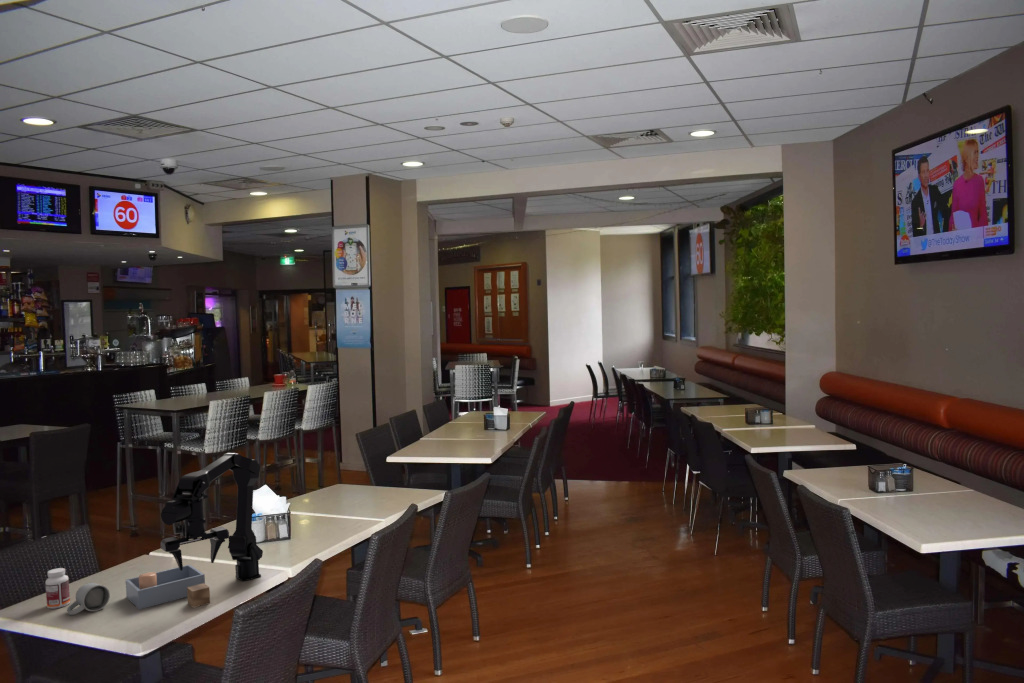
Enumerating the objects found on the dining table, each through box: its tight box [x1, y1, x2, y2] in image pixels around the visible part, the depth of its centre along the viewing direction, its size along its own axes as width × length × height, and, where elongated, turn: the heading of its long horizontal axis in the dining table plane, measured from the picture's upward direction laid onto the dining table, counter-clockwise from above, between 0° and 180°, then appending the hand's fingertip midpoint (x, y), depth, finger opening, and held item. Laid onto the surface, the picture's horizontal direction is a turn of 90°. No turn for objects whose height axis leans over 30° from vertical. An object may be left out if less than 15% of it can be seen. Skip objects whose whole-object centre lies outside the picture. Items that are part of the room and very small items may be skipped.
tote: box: [125, 564, 206, 610], centre depth 234 cm, size 20×15×6 cm
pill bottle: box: [44, 567, 71, 610], centre depth 228 cm, size 6×6×11 cm
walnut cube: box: [187, 583, 211, 609], centre depth 225 cm, size 5×5×5 cm
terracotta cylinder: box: [138, 571, 157, 590], centre depth 230 cm, size 5×5×7 cm
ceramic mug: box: [66, 582, 111, 616], centre depth 223 cm, size 11×8×8 cm
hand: (196, 566), depth 225 cm, fingers open, 9 cm apart
